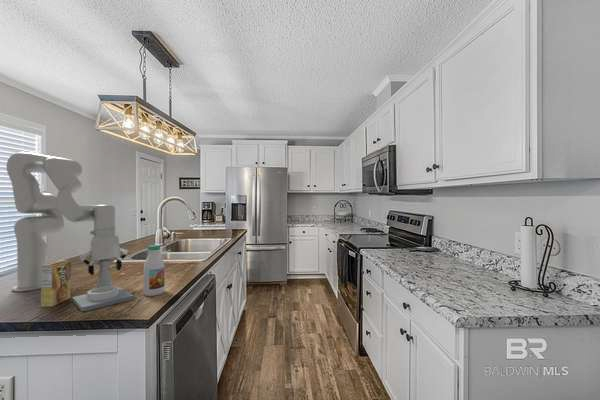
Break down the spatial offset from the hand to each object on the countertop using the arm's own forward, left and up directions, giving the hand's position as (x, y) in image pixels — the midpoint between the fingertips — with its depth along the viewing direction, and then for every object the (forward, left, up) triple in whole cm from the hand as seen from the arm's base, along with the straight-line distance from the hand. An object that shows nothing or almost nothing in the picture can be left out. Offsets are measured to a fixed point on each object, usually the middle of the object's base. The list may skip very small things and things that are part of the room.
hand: (105, 272), depth 117 cm
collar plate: (+15, -4, -8) cm, 17 cm away
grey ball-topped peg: (0, 0, -8) cm, 8 cm away
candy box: (+4, -17, -8) cm, 19 cm away
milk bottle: (+22, +12, -8) cm, 26 cm away
